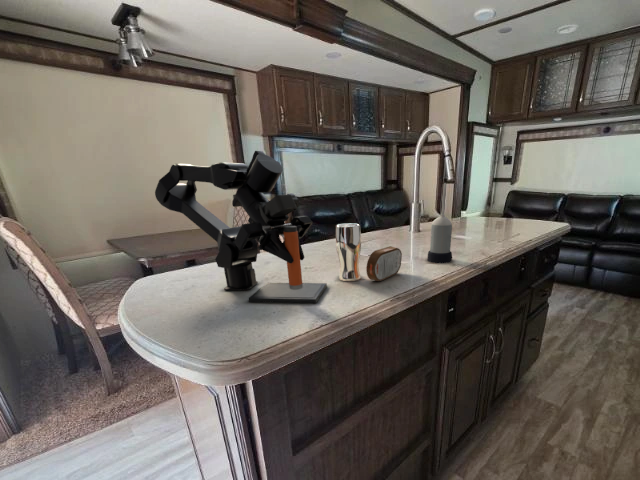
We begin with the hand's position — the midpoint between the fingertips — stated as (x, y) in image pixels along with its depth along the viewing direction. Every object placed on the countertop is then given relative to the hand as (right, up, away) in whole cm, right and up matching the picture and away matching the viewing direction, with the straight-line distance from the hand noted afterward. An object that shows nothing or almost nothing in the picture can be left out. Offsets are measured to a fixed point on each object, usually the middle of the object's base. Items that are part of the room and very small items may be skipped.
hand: (297, 260), depth 70 cm
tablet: (-4, -7, +8) cm, 12 cm away
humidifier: (+40, +5, +38) cm, 56 cm away
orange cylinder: (-1, -6, +3) cm, 7 cm away
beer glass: (+10, -3, +20) cm, 23 cm away
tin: (+21, -3, +20) cm, 29 cm away
